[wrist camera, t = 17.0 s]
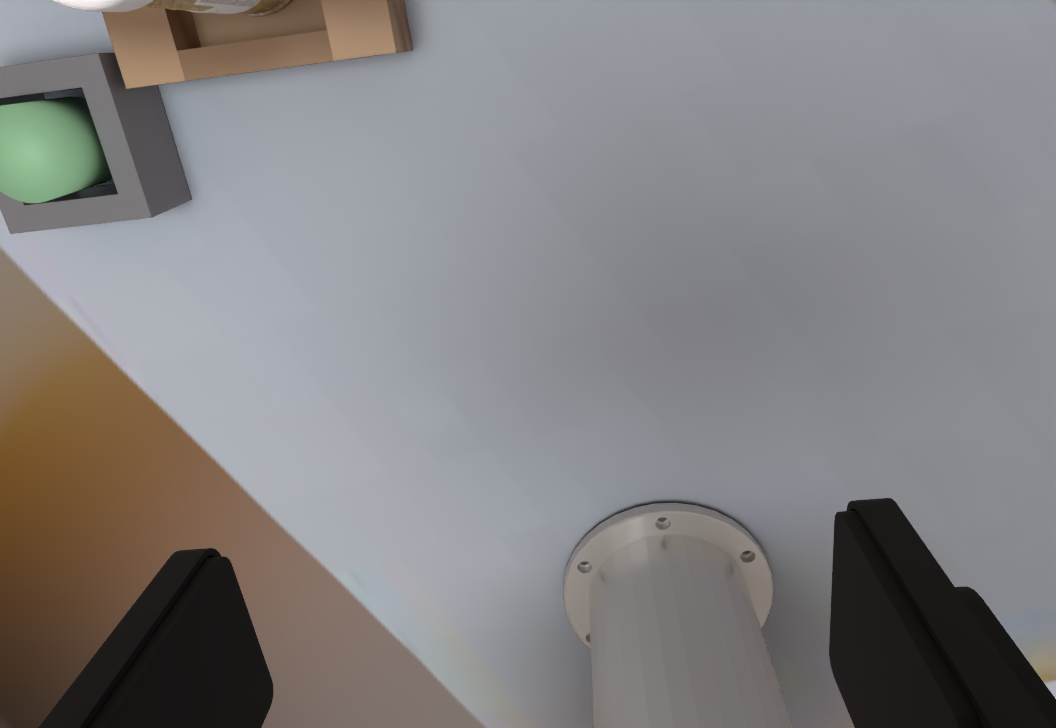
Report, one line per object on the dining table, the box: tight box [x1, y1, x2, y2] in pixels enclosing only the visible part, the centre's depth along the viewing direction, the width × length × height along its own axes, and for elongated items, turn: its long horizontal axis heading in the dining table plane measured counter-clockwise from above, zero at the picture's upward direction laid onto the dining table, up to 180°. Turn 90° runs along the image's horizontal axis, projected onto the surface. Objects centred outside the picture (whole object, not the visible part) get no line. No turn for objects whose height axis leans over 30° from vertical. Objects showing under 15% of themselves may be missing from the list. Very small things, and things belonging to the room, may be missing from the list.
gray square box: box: [0, 53, 192, 234], centre depth 35 cm, size 7×7×4 cm
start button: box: [0, 97, 113, 203], centre depth 33 cm, size 4×4×4 cm
